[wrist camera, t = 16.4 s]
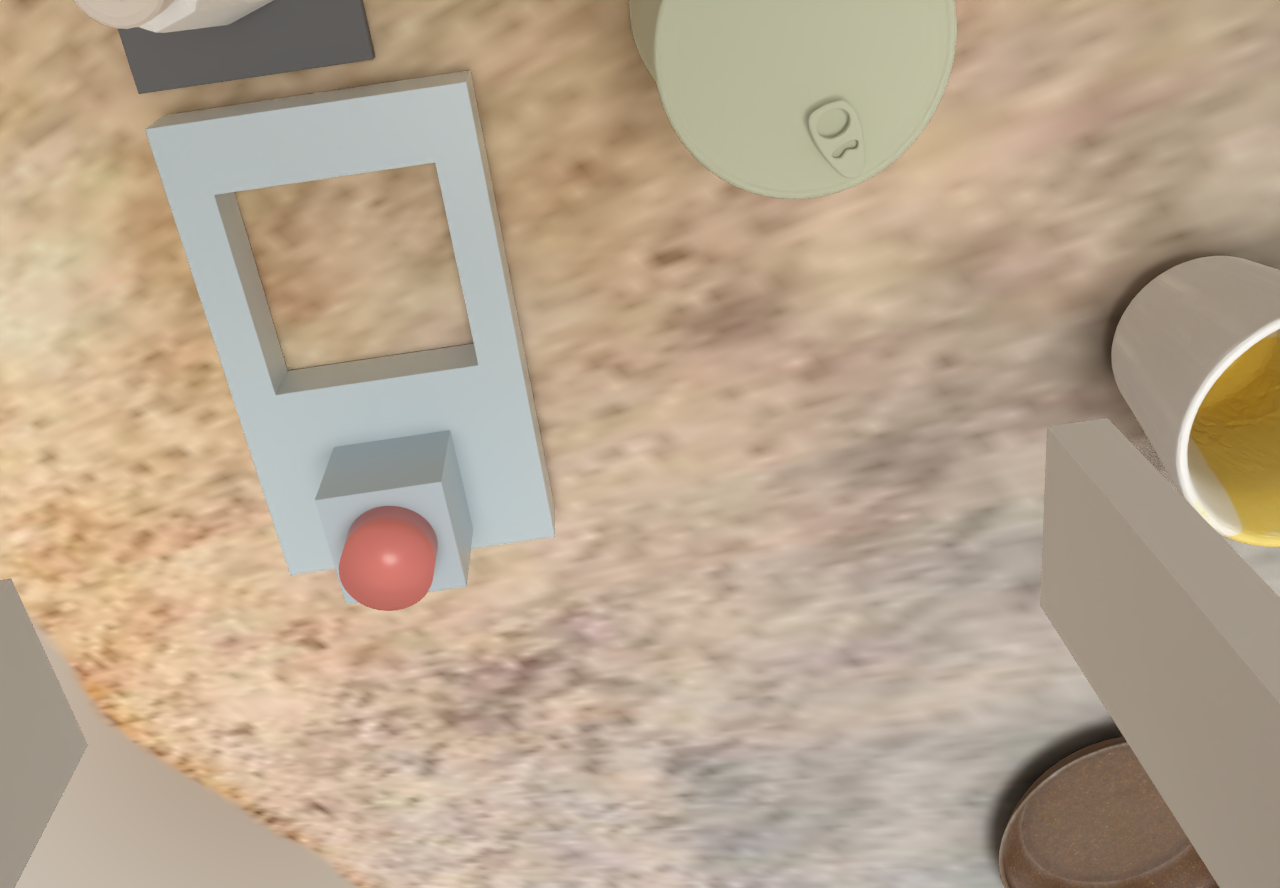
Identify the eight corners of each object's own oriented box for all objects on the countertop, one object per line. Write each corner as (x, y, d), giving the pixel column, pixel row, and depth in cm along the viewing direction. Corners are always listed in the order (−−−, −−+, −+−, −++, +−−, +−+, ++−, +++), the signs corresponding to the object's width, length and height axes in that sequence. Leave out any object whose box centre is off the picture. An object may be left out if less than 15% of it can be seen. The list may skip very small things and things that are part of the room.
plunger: (336, 512, 46) (328, 539, 44) (427, 499, 46) (422, 526, 44) (358, 587, 48) (351, 616, 46) (446, 575, 48) (441, 603, 46)
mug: (1032, 300, 51) (1138, 401, 42) (1251, 170, 49) (1413, 247, 40) (1146, 517, 57) (1261, 649, 48) (1346, 409, 55) (1507, 525, 46)
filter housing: (165, 115, 45) (103, 159, 39) (470, 70, 45) (457, 106, 39) (301, 545, 55) (268, 636, 48) (554, 508, 55) (554, 594, 48)
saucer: (960, 899, 69) (974, 937, 67) (1017, 702, 62) (1036, 736, 60) (1197, 901, 70) (1219, 938, 68) (1278, 709, 64) (1306, 742, 61)
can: (691, 162, 48) (731, 256, 37) (586, -57, 43) (598, -23, 33) (900, 56, 46) (1005, 121, 36) (813, -181, 42) (901, -188, 31)
